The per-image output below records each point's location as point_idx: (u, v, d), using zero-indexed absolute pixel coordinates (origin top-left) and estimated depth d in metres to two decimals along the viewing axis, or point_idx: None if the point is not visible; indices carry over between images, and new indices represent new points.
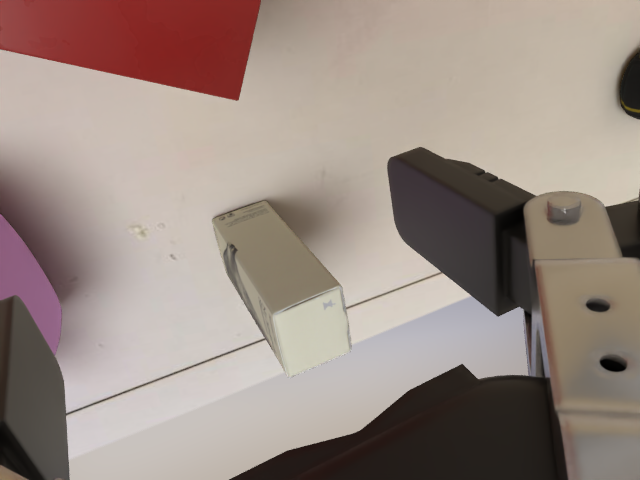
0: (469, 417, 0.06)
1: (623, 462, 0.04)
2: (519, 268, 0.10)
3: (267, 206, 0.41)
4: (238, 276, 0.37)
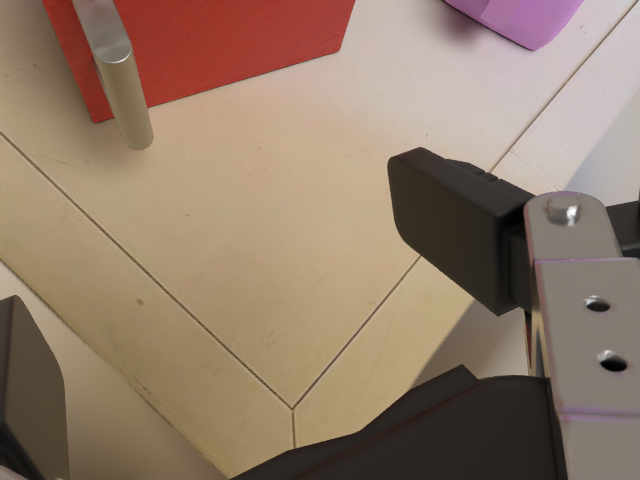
0: (469, 417, 0.06)
1: (623, 462, 0.04)
2: (519, 268, 0.10)
3: None
4: None
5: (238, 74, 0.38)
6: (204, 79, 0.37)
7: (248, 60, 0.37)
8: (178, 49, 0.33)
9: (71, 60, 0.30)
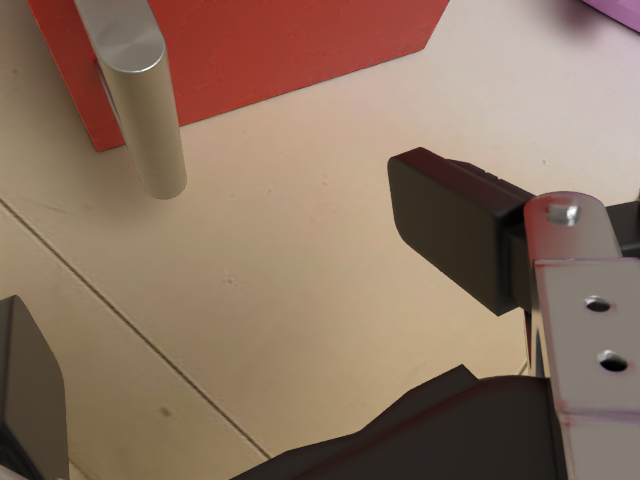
0: (469, 417, 0.06)
1: (623, 462, 0.04)
2: (519, 268, 0.10)
3: None
4: None
5: (294, 82, 0.28)
6: (249, 89, 0.27)
7: (310, 62, 0.27)
8: (219, 48, 0.23)
9: (63, 66, 0.20)
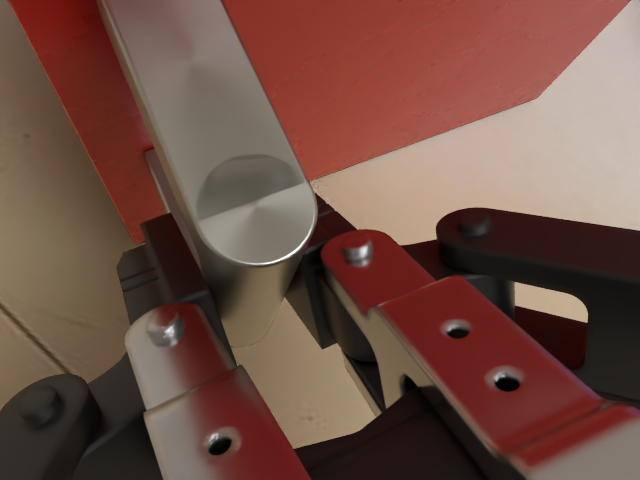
0: None
1: None
2: (327, 304, 0.10)
3: None
4: None
5: (384, 146, 0.22)
6: (331, 160, 0.21)
7: (410, 124, 0.21)
8: (308, 121, 0.17)
9: (101, 162, 0.14)
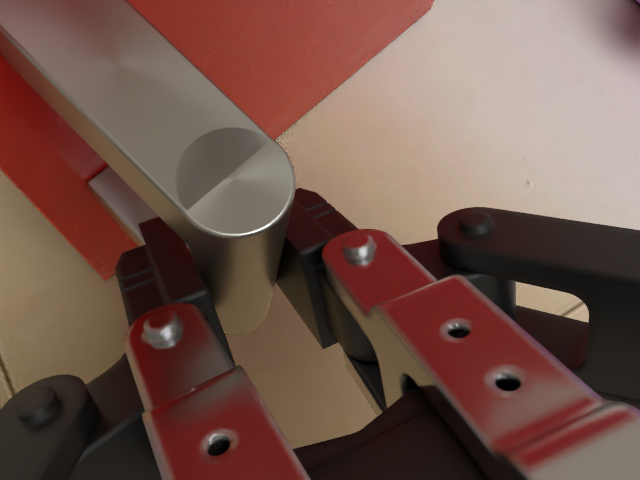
0: None
1: (594, 479, 0.04)
2: (328, 304, 0.10)
3: None
4: None
5: (308, 103, 0.22)
6: None
7: (324, 73, 0.21)
8: (231, 100, 0.17)
9: (48, 207, 0.13)
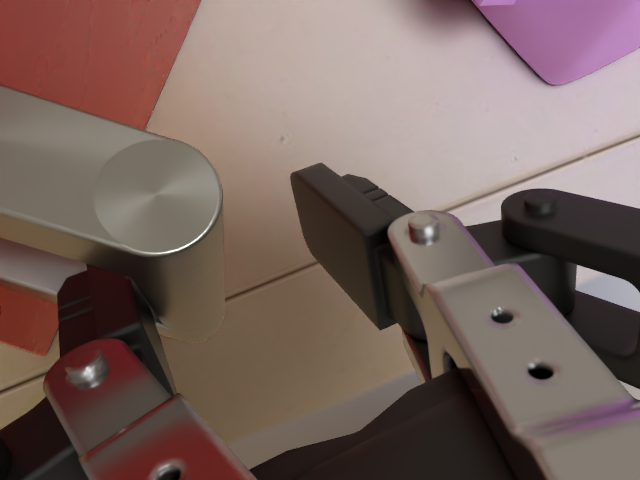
0: (469, 417, 0.06)
1: (602, 471, 0.04)
2: (390, 284, 0.10)
3: None
4: None
5: (153, 93, 0.21)
6: None
7: (155, 56, 0.20)
8: None
9: None
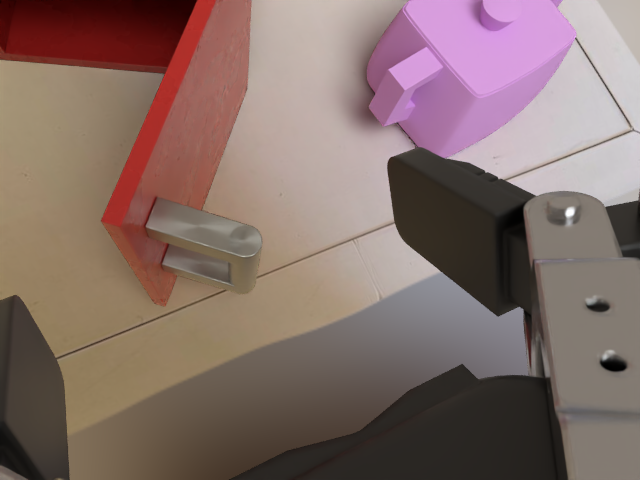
0: (469, 417, 0.06)
1: (623, 462, 0.04)
2: (519, 268, 0.10)
3: None
4: None
5: (213, 172, 0.40)
6: (202, 199, 0.39)
7: (216, 156, 0.39)
8: (191, 198, 0.35)
9: (153, 280, 0.31)
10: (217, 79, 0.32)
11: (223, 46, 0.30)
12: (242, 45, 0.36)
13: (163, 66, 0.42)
